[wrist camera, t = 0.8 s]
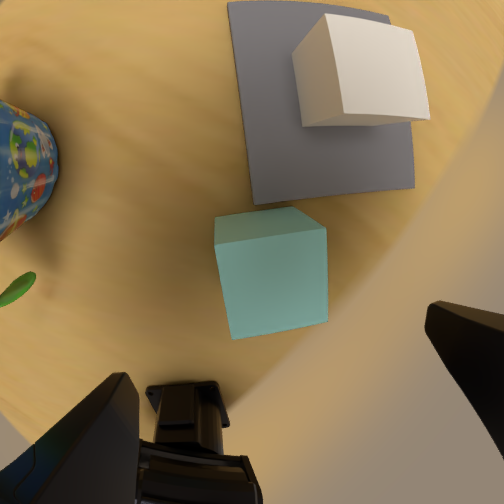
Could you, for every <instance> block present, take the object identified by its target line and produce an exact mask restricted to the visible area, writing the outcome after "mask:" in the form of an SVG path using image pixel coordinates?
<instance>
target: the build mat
mask: <svg viewBox="0 0 504 504" xmlns="http://www.w3.org/2000/svg"><path fill="white" fill-rule="evenodd" d="M227 9H228V16H229V23H230V30H231V37H232V45H233V52H234V59H235V67H236V74H237V81H238V89H239V96H240V104H241V111H242V119H243V127H244V134H245V142H246V150H247V157H248V165H249V173H250V181H251V189H252V197H253V204H254V205H259V204H267V203H274V202H282V201H289V200H298V199H306V198H314V197H323V196H332V195H342V194H352V193H363V192H374V191H385V190H398V189H412V188H415V176H414V156H413V142H412V132H411V122H410V121H409V122H400V123H391V124H384V125H376V126H311V127H302V120H301V112H300V105H299V98H298V91H297V85H296V78H295V72H294V66H293V60H292V53H293V51H294V50H295V49H296V47H297V46H298V45H299V44H300V42H301V41H302V40H303V39H304V38H305V36H306V35H307V34H308V33H309V31H310V30H311V29H312V28H313V27H314V25H315V24H316V23H317V22H318V21H319V19H320V18H321V17H322V16H323V15H324V14H325V13H326V14H335V15H342V16H349V17H355V18H360V19H366V20H371V21H376V22H380V23H384V24H389V25H391V23H390V20H389V17H388V16H387V15H383V14H379V13H374V12H370V11H365V10H360V9H355V8H349V7H343V6H336V5H329V4H321V3H310V2H297V1H237V2H228V3H227Z"/></svg>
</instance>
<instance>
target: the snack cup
mask: <svg viewBox="0 0 504 504" xmlns="http://www.w3.org/2000/svg"><path fill="white" fill-rule="evenodd" d="M57 157H58V152H57V147H56V144H55V141H54V138H53V136H52V134H51V132H50V129H49V127H48V125H47V123H45V122H43V121H41V120H40V119H39V118H37V117H36V116H34V115H33V114H30V113H28V112H26V111H24V110H22V109H20V108H17V107H15V106H13V105H11V104H9V103H7V102H4V101H2V100H0V241H2V240H3V239H4V238H6V237H7V236H8V235H9V234H11V233H12V232H13V231H15V230H16V229H17V228H19V227H20V226H21V225H22V224H23V223H24V222H26V221H27V220H29V219H31V218H32V217H33V216H35V215H36V214H37V213H38V211H39V210H40V209H41V208H42V207H43V206H44V204H45V203H46V202H47V200H48V199H49V197H50V195H51V193H52V190H53V186H54V183H55V181H56V180H57V178H58V170H59V167H58V165H57ZM35 279H36V274H35V273H34V272H27V273H25V274H23V275H21V276H20V277H18V278H17V279H16V280H14V281H13V282H12V283H11V284H10V286H9V287H8V288H7V289H6V290H5V291H4V292H3V293H2V294H1V295H0V307H3V306H6V305H8V304H10V303H12V302H14V301H15V300H17V299H18V298H19V297H21V296H22V295H23V294H24V293H25V292H27V291H28V290H29V288H30V287H31V286H32V285H33V283H34V281H35Z"/></svg>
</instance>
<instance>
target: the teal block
mask: <svg viewBox="0 0 504 504" xmlns="http://www.w3.org/2000/svg"><path fill="white" fill-rule="evenodd" d="M214 248H215V253H216V259H217V265H218V270H219V276H220V281H221V287H222V292H223V297H224V302H225V308H226V313H227V318H228V323H229V328H230V333H231V338H232V340H235V339H242V338H248V337H254V336H260V335H265V334H271V333H276V332H281V331H287V330H292V329H297V328H301V327H306V326H311V325H316V324H320V323H324V322H328V262H327V234H326V228H325V227H324V226H322V225H321V224H319V223H318V222H316V221H315V220H313V219H312V218H310V217H309V216H307V215H306V214H304V213H303V212H301V211H300V210H298V209H296V208H295V207H293V206H289V207H281V208H274V209H267V210H260V211H253V212H246V213H239V214H232V215H226V216H219V217H215V228H214Z"/></svg>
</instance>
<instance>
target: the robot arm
mask: <svg viewBox="0 0 504 504" xmlns="http://www.w3.org/2000/svg"><path fill="white" fill-rule="evenodd" d="M425 332H426V335H427V336H428V338H429V339H430V341H431V343H432V344H433V346H434V348H435V349H436V351H437V353H438V355H439V356H440V358H441V360H442V361H443V363H444V365H445V367H446V368H447V370H448V371H449V373H450V374H451V375H452V377H453V378H454V380H455V381H456V383H457V384H458V385H459V387H460V388H461V390H462V391H463V393H464V394H465V396H466V397H467V399H468V401H469V402H470V403H471V405H472V407H473V408H474V410H475V411H476V413H477V415H478V416H479V417H480V419H481V421H482V423H483V424H484V426H485V427H486V429H487V431H488V432H489V434H490V436H491V438H492V439H493V441H494V443H495V444H496V446H497V448H498V450H499V452H500V453H501V455H502V456H503V459H504V315H503V314H499V313H494V312H489V311H484V310H480V309H475V308H471V307H467V306H462V305H458V304H453V303H449V302H444V301H436V302H434V303H431V304H430V305H429V306H428V309H427V314H426V320H425ZM211 387H214V388H211ZM145 393H146V396H147V398H148V399H149V401H150V403H151V405H152V407H153V409H154V410H155V412H156V414H157V417H156V424H155V431H154V438H153V443H151V442H147V441H143V439H139V394H138V392H137V390H136V388H135V386H134V384H133V383H132V381H131V379H130V377H129V375H128V374H127V373H125V372H117V373H112V374H111V375H110V376H109V377H108V378H106V379H105V380H104V381H103V382H102V383H101V384H100V385H99V386H97V387H96V388H95V389H94V390H93V391H92V392H91V393H90V394H89V395H87V396H86V397H85V398H84V399H83V400H82V401H81V402H80V403H78V404H77V405H76V406H75V407H74V408H73V409H72V410H71V411H70V412H68V413H67V414H66V415H65V416H64V417H63V418H62V419H61V420H59V421H58V422H57V423H56V424H55V425H54V426H53V427H52V428H51V429H49V430H48V431H47V432H46V433H45V434H44V435H43V436H42V437H41V438H39V439H38V440H37V441H36V442H35V444H33V445H32V446H30V447H29V448H28V449H27V450H26V451H25V452H24V453H23V454H21V455H20V456H19V457H18V458H17V459H16V460H14V461H13V462H12V463H10V465H8V466H6V467H5V468H4V469H3V470H1V471H0V504H263V497H262V493H261V489H260V486H259V484H258V481H257V479H256V476H255V474H254V471H253V469H252V466H251V464H250V461H249V458H248V456H243V455H240V456H231V455H224V453H223V440H222V428H226V427H229V426H230V421H229V418H228V415H227V412H226V409H225V405H224V402H223V399H222V396H221V392H220V389H219V386H218V384H217V383H216V382H204V383H195V384H184V385H172V386H156V387H147V388H146V392H145Z"/></svg>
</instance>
